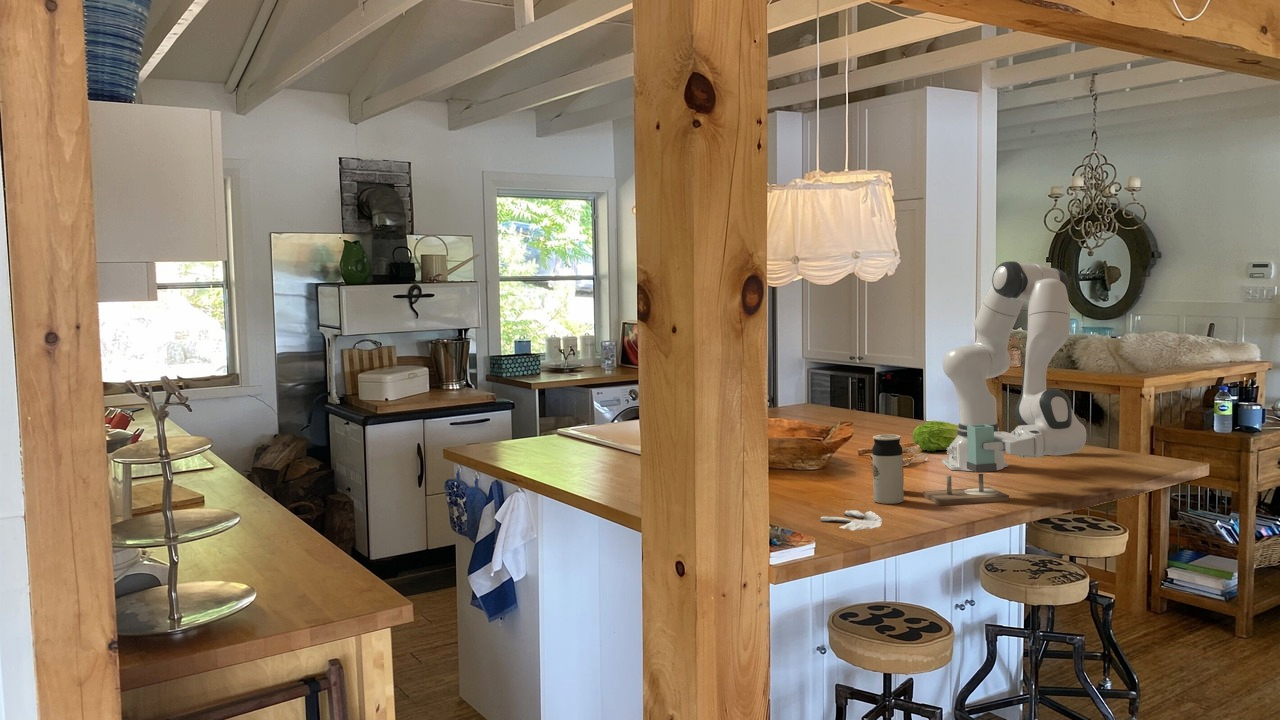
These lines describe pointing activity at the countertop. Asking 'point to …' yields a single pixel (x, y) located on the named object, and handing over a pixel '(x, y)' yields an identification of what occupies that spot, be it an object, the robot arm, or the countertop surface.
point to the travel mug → (887, 469)
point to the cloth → (856, 524)
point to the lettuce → (935, 435)
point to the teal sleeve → (980, 448)
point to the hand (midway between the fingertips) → (977, 444)
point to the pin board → (965, 494)
